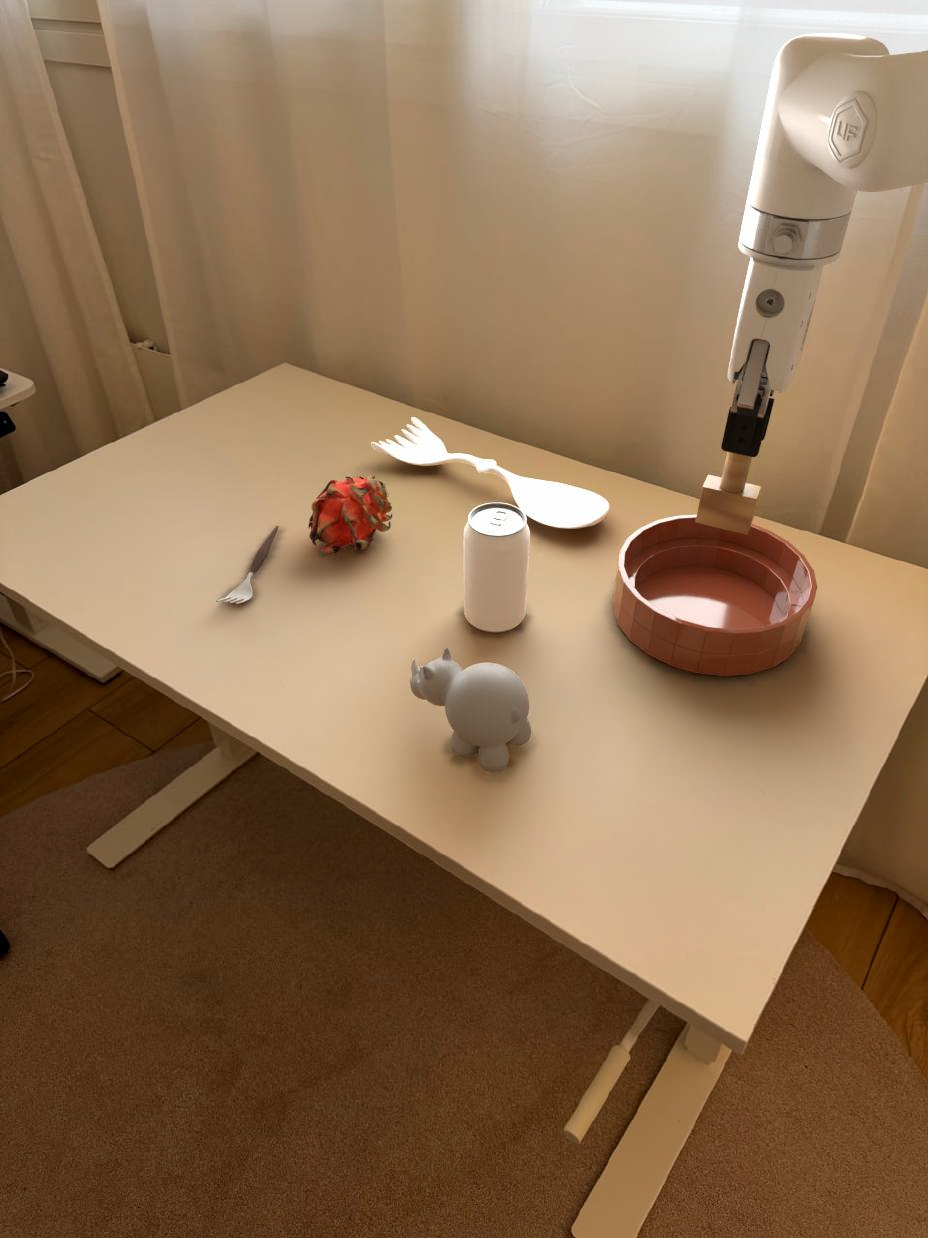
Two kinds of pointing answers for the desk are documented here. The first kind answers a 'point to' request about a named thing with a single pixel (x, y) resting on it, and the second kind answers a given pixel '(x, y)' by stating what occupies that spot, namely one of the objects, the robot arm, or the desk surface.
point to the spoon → (531, 495)
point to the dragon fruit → (349, 513)
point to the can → (495, 567)
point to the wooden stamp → (729, 496)
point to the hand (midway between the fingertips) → (742, 443)
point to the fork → (250, 573)
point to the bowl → (712, 596)
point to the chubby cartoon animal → (477, 706)
